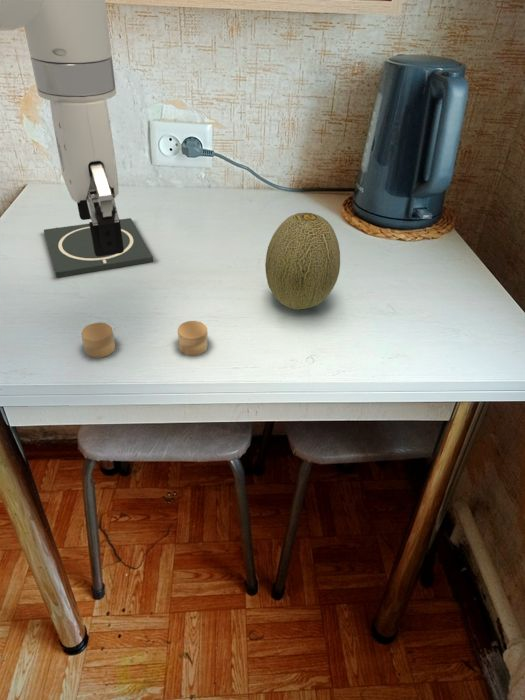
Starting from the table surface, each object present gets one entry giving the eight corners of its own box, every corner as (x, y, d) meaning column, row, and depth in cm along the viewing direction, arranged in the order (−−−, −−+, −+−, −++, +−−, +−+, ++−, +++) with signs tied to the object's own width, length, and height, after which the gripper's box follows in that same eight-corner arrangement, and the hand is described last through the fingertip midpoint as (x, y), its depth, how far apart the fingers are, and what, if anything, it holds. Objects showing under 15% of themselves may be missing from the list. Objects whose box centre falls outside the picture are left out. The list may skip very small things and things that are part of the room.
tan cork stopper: (183, 358, 69) (182, 341, 67) (175, 341, 72) (173, 324, 70) (211, 351, 71) (211, 334, 69) (201, 335, 73) (201, 318, 71)
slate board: (56, 277, 83) (55, 271, 82) (44, 234, 94) (43, 228, 93) (153, 261, 88) (152, 255, 88) (131, 222, 99) (130, 217, 99)
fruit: (328, 329, 76) (344, 239, 66) (255, 317, 77) (261, 226, 68) (336, 290, 85) (351, 204, 75) (270, 279, 86) (277, 194, 77)
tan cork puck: (87, 360, 68) (84, 343, 66) (82, 343, 70) (78, 325, 68) (118, 354, 69) (115, 336, 67) (111, 336, 72) (108, 319, 70)
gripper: (26, 60, 55) (58, 209, 66) (46, 102, 43) (81, 276, 54) (97, 58, 58) (116, 202, 69) (134, 97, 46) (150, 264, 57)
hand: (101, 234), depth 61 cm, fingers open, 9 cm apart
